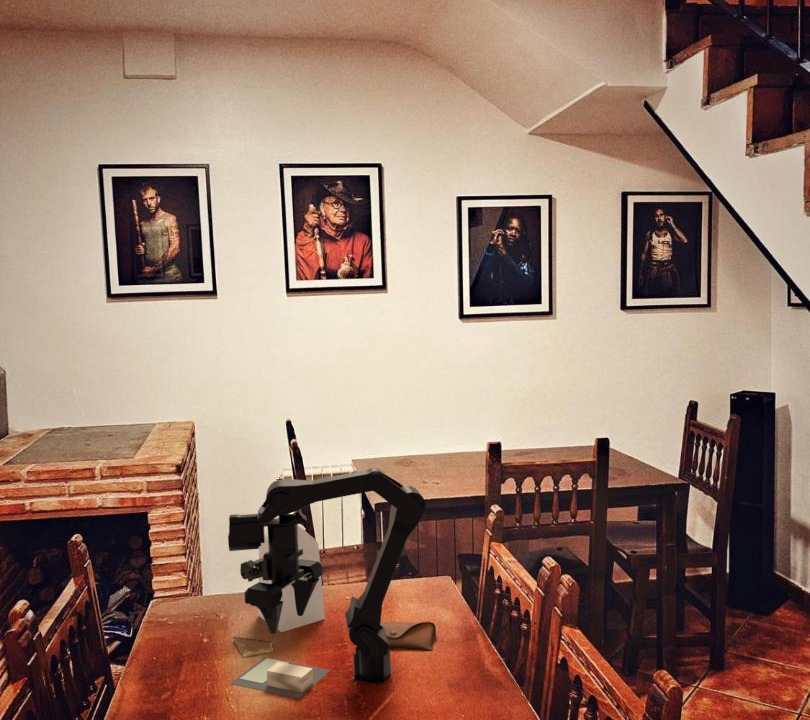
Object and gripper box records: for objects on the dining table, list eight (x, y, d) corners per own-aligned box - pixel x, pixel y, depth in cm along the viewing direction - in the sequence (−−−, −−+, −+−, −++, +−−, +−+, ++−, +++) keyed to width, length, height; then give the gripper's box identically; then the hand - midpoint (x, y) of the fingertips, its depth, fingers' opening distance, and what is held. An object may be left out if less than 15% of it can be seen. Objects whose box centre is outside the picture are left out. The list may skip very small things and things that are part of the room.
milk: (258, 616, 186) (254, 511, 184) (300, 604, 193) (296, 502, 191) (281, 632, 176) (277, 521, 175) (324, 619, 183) (320, 512, 182)
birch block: (313, 683, 150) (312, 668, 150) (302, 692, 147) (301, 677, 147) (278, 676, 154) (278, 661, 153) (267, 685, 150) (266, 670, 150)
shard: (233, 643, 172) (233, 635, 172) (267, 636, 175) (266, 629, 175) (242, 662, 162) (241, 654, 162) (277, 655, 165) (277, 647, 165)
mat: (330, 673, 156) (330, 669, 156) (299, 701, 145) (299, 697, 145) (264, 660, 162) (264, 657, 162) (229, 686, 151) (229, 682, 151)
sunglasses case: (351, 649, 166) (353, 617, 169) (356, 653, 172) (357, 622, 175) (434, 650, 165) (434, 618, 168) (436, 654, 171) (436, 623, 174)
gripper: (276, 529, 161) (280, 601, 162) (219, 556, 144) (223, 637, 145) (322, 534, 156) (325, 609, 157) (268, 563, 139) (272, 646, 140)
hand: (287, 624), depth 150 cm, fingers open, 9 cm apart
